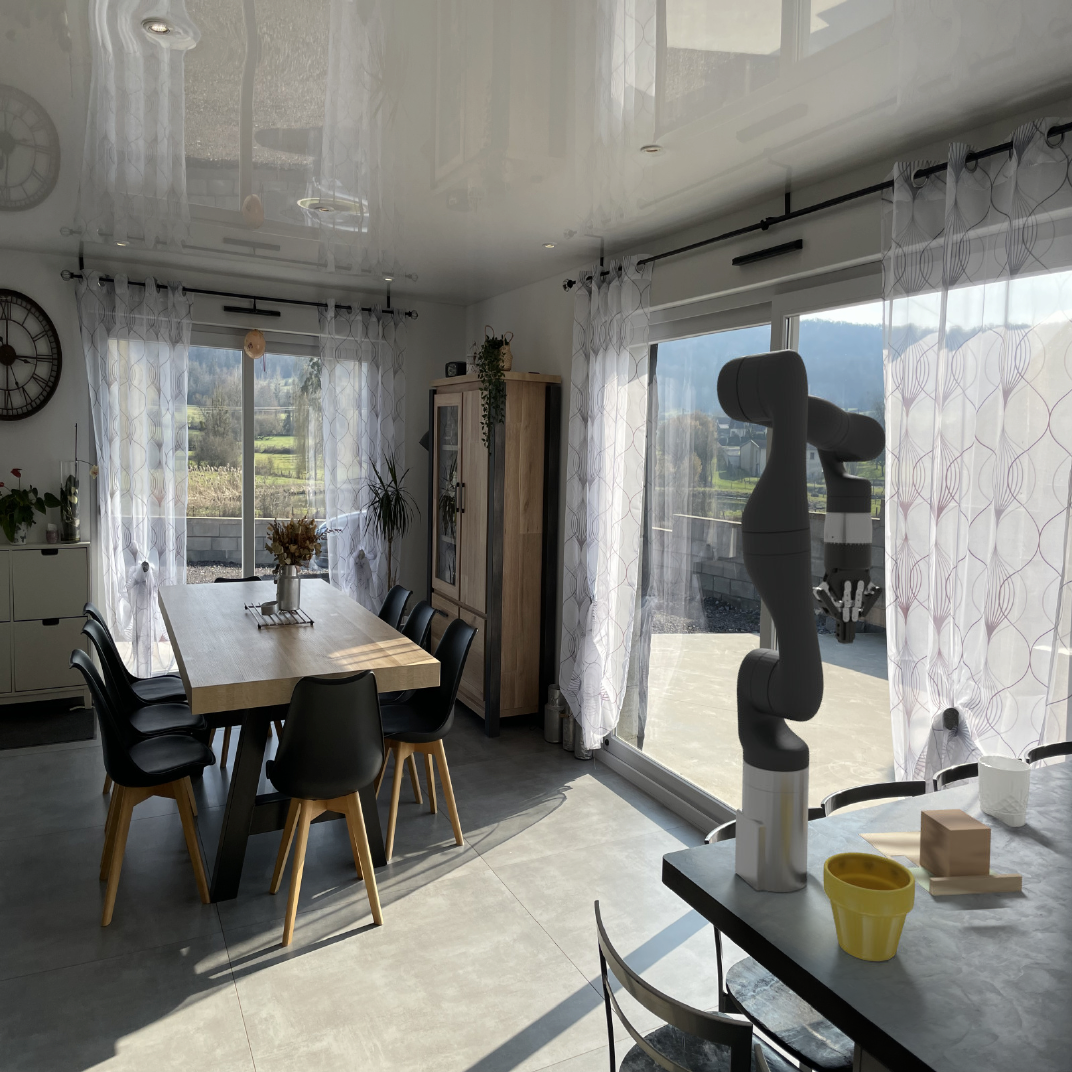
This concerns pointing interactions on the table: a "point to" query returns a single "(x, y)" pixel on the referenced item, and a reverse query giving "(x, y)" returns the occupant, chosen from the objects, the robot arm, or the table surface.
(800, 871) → the robot arm
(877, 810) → the table surface
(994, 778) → the white cup
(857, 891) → the plant pot
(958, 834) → the walnut block
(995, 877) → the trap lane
